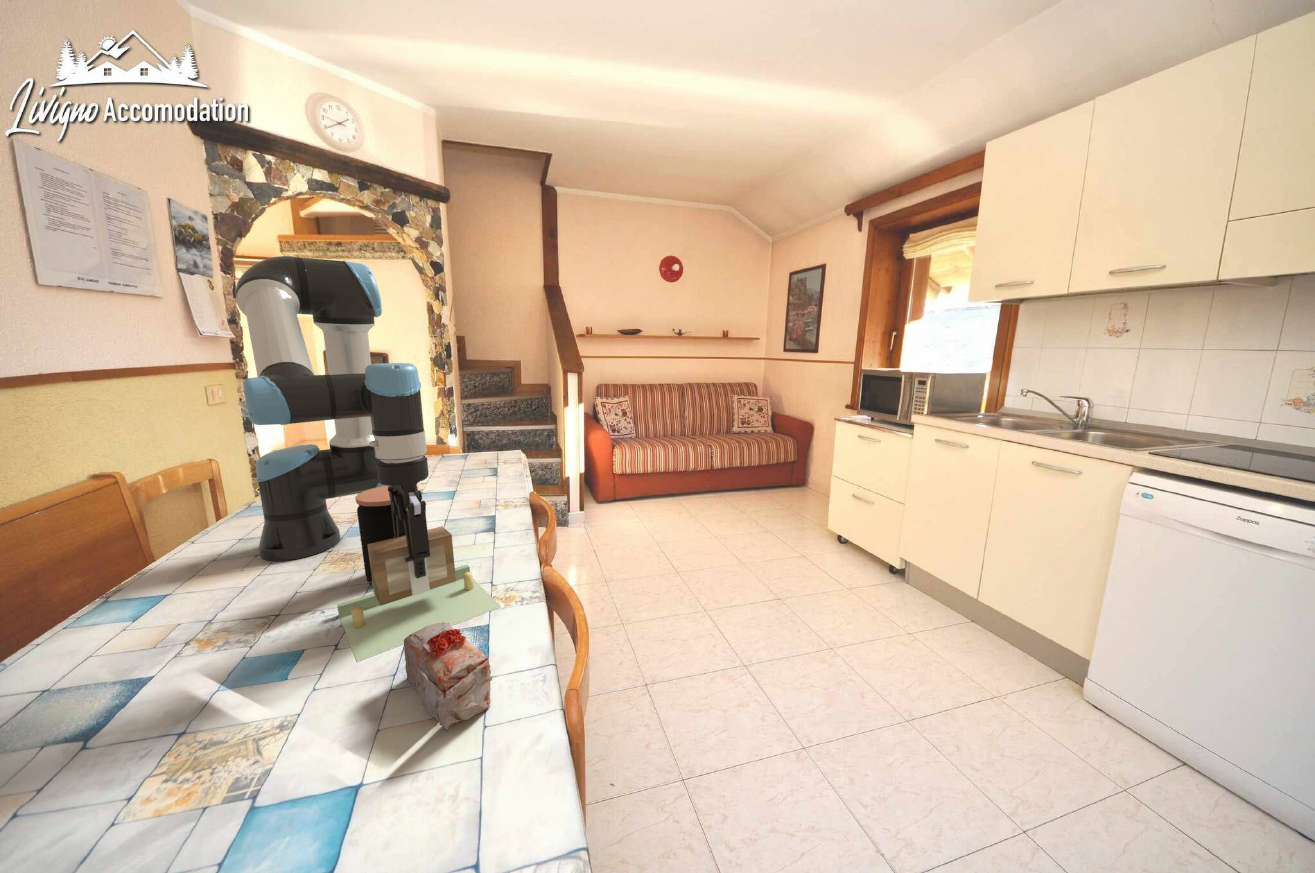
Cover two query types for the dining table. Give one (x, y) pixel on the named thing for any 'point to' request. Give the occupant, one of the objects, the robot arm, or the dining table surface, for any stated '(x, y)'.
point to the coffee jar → (374, 520)
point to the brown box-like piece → (394, 571)
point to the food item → (447, 673)
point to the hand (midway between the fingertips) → (415, 585)
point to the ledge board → (411, 614)
